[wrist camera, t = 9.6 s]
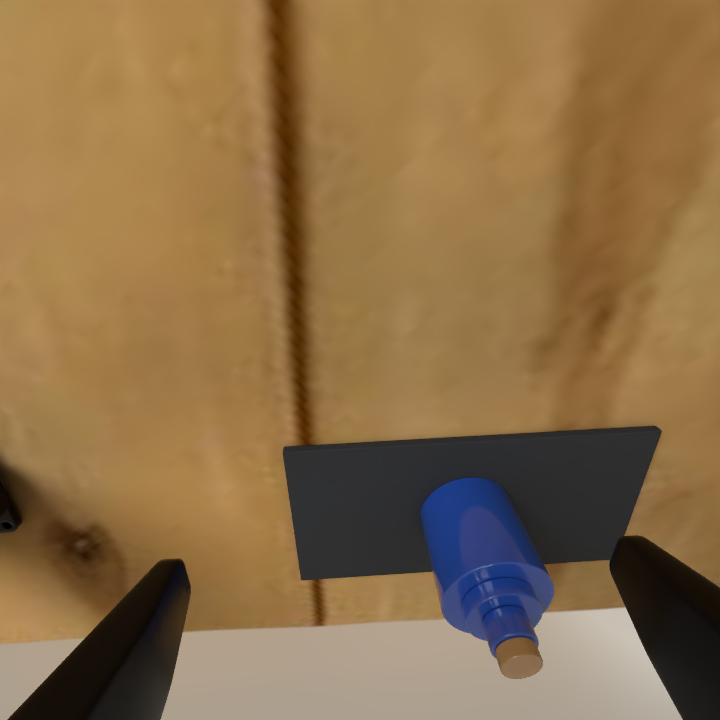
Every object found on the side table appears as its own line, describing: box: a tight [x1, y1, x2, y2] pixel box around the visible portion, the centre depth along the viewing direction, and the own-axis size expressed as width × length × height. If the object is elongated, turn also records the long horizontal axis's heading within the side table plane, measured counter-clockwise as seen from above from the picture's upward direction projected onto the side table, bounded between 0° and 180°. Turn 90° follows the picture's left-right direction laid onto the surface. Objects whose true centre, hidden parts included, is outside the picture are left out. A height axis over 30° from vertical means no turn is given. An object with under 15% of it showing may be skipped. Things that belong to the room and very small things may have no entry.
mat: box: [283, 426, 662, 580], centre depth 23 cm, size 20×10×1 cm, turn 92°
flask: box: [420, 477, 554, 679], centre depth 20 cm, size 5×5×8 cm
